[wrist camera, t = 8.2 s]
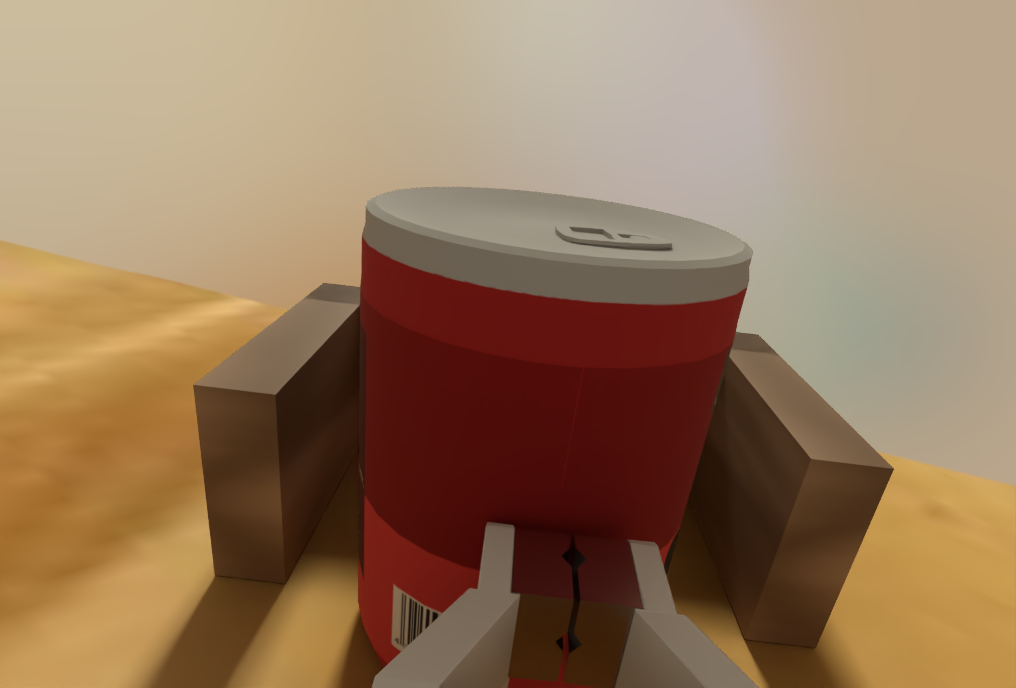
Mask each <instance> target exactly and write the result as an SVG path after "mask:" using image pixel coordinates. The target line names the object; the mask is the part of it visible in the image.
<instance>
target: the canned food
mask: <svg viewBox="0 0 1016 688" xmlns="http://www.w3.org/2000/svg"><path fill="white" fill-rule="evenodd" d="M752 254H753V250H752V249H751V248H750V247H749V246H748V245H747V244H746V243H745V242H743V241H742V240H741V239H739V238H737V237H736V236H734V235H732V234H730V233H729V232H726V231H724V230H721V229H719V228H716V227H714V226H711V225H708V224H704V223H701V222H698V221H695V220H692V219H688V218H684V217H680V216H676V215H672V214H668V213H664V212H659V211H655V210H650V209H646V208H640V207H635V206H630V205H625V204H619V203H613V202H607V201H601V200H594V199H588V198H581V197H573V196H566V195H558V194H549V193H541V192H530V191H519V190H508V189H492V188H472V187H425V188H411V189H402V190H395V191H392V192H387V193H384V194H381V195H378V196H376V197H374V198H372V199H370V200H369V201H367V205H366V223H365V226H364V230H363V234H362V276H361V286H360V400H359V561H358V603H359V608H360V613H361V618H362V623H363V626H364V628H365V631H366V633H367V635H368V637H369V640H370V642H371V644H372V646H373V648H374V650H375V652H376V655H377V657H378V659H379V661H380V663H381V665H382V667H383V668H384V667H385V666H387V665H388V664H389V663H390V662H391V661H392V660H393V659H394V658H395V657H396V656H397V655H398V654H399V653H400V652H402V651H403V650H404V649H405V648H406V647H407V646H408V645H409V644H410V643H411V642H412V641H413V640H414V639H415V638H417V637H418V636H419V635H420V634H421V633H422V632H423V631H424V630H425V629H426V628H427V627H428V626H429V625H430V624H432V623H433V622H434V621H435V620H436V619H437V618H438V617H439V616H440V615H441V614H442V613H443V612H444V611H445V610H447V609H448V608H449V607H450V606H451V605H452V604H453V603H454V602H455V601H456V600H457V599H458V598H459V597H460V596H462V595H463V594H464V593H465V592H466V591H467V590H468V589H469V588H472V589H478V582H479V574H480V567H481V559H482V552H483V544H484V537H485V529H486V525H487V522H493V523H501V524H508V525H513V526H514V528H515V525H517V526H524V527H531V528H538V529H544V530H551V531H558V532H565V533H568V534H569V537H570V540H571V537H572V534H579V535H588V536H596V537H605V538H613V539H622V540H627V539H628V540H638V541H648V542H655V543H656V544H657V546H658V548H659V551H660V555H661V558H662V562H663V565H664V569H665V572H666V575H667V572H668V568H669V565H670V561H671V558H672V554H673V551H674V547H675V544H676V540H677V537H678V533H679V530H680V526H681V523H682V519H683V516H684V512H685V509H686V505H687V502H688V498H689V495H690V491H691V488H692V484H693V481H694V477H695V474H696V470H697V467H698V463H699V460H700V456H701V453H702V449H703V446H704V442H705V439H706V435H707V432H708V428H709V425H710V421H711V418H712V414H713V411H714V407H715V404H716V400H717V397H718V393H719V390H720V386H721V383H722V379H723V376H724V372H725V369H726V366H727V362H728V359H729V355H730V352H731V348H732V345H733V341H734V337H735V333H736V328H737V322H738V319H739V315H740V311H741V308H742V304H743V300H744V297H745V294H746V290H747V286H748V282H749V265H750V262H751V258H752ZM568 564H569V558H568ZM563 638H564V635H563ZM502 688H595V687H588V686H582V685H576V684H569V683H564V682H563V663H562V662H561V666H560V671H559V676H558V680H557V682H554V681H544V680H533V679H523V678H512V677H508V679H507V681H506V683H505V684H504V686H503V687H502Z"/></svg>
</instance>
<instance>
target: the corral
mask: <svg viewBox="0 0 1016 688" xmlns="http://www.w3.org/2000/svg"><path fill="white" fill-rule="evenodd" d="M193 386H194V395H195V404H196V413H197V422H198V431H199V439H200V448H201V457H202V466H203V475H204V484H205V492H206V501H207V510H208V519H209V528H210V537H211V546H212V554H213V563H214V572H215V575H218V576H226V577H234V578H243V579H251V580H259V581H267V582H276V583H284V584H285V583H286V581H287V580H288V578H289V576H290V574H291V572H292V570H293V568H294V567H295V565H296V563H297V561H298V559H299V557H300V555H301V554H302V552H303V550H304V548H305V546H306V544H307V542H308V541H309V539H310V537H311V535H312V533H313V531H314V529H315V528H316V526H317V524H318V522H319V520H320V518H321V517H322V515H323V513H324V511H325V509H326V507H327V505H328V504H329V502H330V500H331V498H332V496H333V494H334V492H335V491H336V489H337V487H338V485H339V483H340V481H341V479H342V478H343V476H344V474H345V472H346V470H347V468H348V466H349V465H350V463H351V461H352V459H353V457H354V455H355V453H356V452H357V450H358V448H359V400H360V287H353V286H345V285H336V284H328V283H323V284H322V285H320V286H319V287H318V288H317V289H315V290H314V291H313V292H312V293H310V294H309V295H308V296H306V297H305V298H304V299H303V300H301V301H300V302H299V303H298V304H296V305H295V306H294V307H292V308H291V309H290V310H288V311H287V312H286V313H285V314H283V315H282V316H281V317H280V318H278V319H277V320H276V321H274V322H273V323H272V324H271V325H269V326H268V327H267V328H265V329H264V330H263V331H262V332H260V333H259V334H258V335H256V336H255V337H254V338H253V339H251V340H250V341H249V342H247V343H246V344H245V345H244V346H242V347H241V348H240V349H239V350H237V351H236V352H235V353H233V354H232V355H231V356H230V357H228V358H227V359H226V360H224V361H223V362H222V363H221V364H219V365H218V366H217V367H215V368H214V369H213V370H212V371H210V372H209V373H208V374H207V375H205V376H204V377H203V378H201V379H200V380H199V381H198V382H196V383H195V384H194V385H193ZM893 470H894V468H893V467H892V466H891V465H890V464H889V463H888V462H887V461H885V460H884V459H883V458H882V457H881V456H880V455H879V454H878V453H877V452H876V451H875V450H874V449H873V448H872V447H871V446H870V445H869V444H868V443H867V442H866V441H865V440H864V439H863V438H862V437H861V436H860V435H859V434H858V433H857V432H856V431H855V430H854V429H853V428H852V427H851V426H850V425H849V424H848V423H847V422H846V421H845V420H844V419H843V418H842V417H841V416H840V415H839V414H838V413H837V412H836V411H835V410H834V409H833V408H832V407H831V406H830V405H829V404H828V403H827V402H826V401H825V400H824V399H823V398H822V397H821V396H820V395H819V394H818V393H817V392H816V391H814V390H813V388H811V386H809V384H807V383H806V382H805V381H804V380H803V379H802V378H801V377H800V376H799V375H798V374H797V373H796V372H795V371H794V370H793V369H792V368H791V367H790V366H789V365H788V364H787V363H786V362H785V361H784V360H783V359H782V358H781V357H780V356H779V355H778V354H777V353H776V352H775V351H774V350H773V349H772V348H771V347H770V346H769V345H768V344H767V343H766V342H765V341H764V340H763V339H762V338H761V337H760V336H759V335H756V334H747V333H738V332H736V333H735V337H734V341H733V345H732V348H731V352H730V355H729V359H728V362H727V366H726V369H725V372H724V376H723V379H722V383H721V386H720V390H719V393H718V397H717V400H716V404H715V407H714V411H713V414H712V418H711V421H710V425H709V428H708V432H707V435H706V439H705V442H704V446H703V449H702V453H701V456H700V460H699V463H698V467H697V470H696V474H695V477H694V481H693V484H692V488H691V491H690V495H689V500H690V503H691V505H692V508H693V510H694V513H695V515H696V518H697V520H698V523H699V525H700V528H701V530H702V533H703V535H704V538H705V541H706V543H707V546H708V548H709V551H710V553H711V556H712V558H713V561H714V563H715V566H716V568H717V571H718V573H719V576H720V578H721V581H722V583H723V586H724V588H725V591H726V593H727V596H728V598H729V601H730V603H731V606H732V608H733V611H734V613H735V616H736V619H737V621H738V624H739V626H740V629H741V631H742V634H743V636H744V639H747V640H755V641H763V642H772V643H780V644H788V645H796V646H805V647H813V648H816V646H817V644H818V641H819V639H820V637H821V634H822V632H823V630H824V628H825V625H826V623H827V621H828V618H829V616H830V614H831V612H832V609H833V607H834V605H835V602H836V600H837V598H838V596H839V593H840V591H841V589H842V586H843V584H844V582H845V580H846V577H847V575H848V573H849V570H850V568H851V566H852V564H853V561H854V559H855V557H856V554H857V552H858V550H859V548H860V545H861V543H862V541H863V538H864V536H865V534H866V532H867V529H868V527H869V525H870V522H871V520H872V518H873V516H874V513H875V511H876V509H877V506H878V504H879V502H880V500H881V497H882V495H883V493H884V490H885V488H886V486H887V484H888V481H889V479H890V477H891V474H892V472H893Z"/></svg>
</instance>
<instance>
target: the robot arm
mask: <svg viewBox="0 0 1016 688" xmlns="http://www.w3.org/2000/svg"><path fill="white" fill-rule="evenodd" d="M568 558H569V564H568ZM563 635H564V638H563ZM561 662H562V663H563V682H564V683H569V684H576V685H582V686H588V687H595V688H759V687H758V686H757V685H756V684H755V683H754V682H753V681H752V680H751V679H750V678H749V677H748V676H747V675H746V674H745V673H744V672H743V671H742V670H741V669H740V668H739V667H738V666H737V665H736V664H735V663H734V662H733V661H732V660H731V659H730V658H729V657H728V656H727V655H726V654H725V653H724V652H723V651H722V650H721V649H719V648H718V647H717V646H716V645H715V644H714V643H713V642H712V641H711V640H710V639H709V638H708V637H707V636H706V635H705V634H704V633H703V632H702V631H701V630H700V629H699V628H698V627H697V626H696V625H695V624H694V623H693V622H692V621H691V620H690V619H689V618H688V617H687V616H686V615H681V614H677V611H676V608H675V604H674V601H673V597H672V594H671V590H670V587H669V583H668V579H667V576H666V572H665V569H664V565H663V562H662V558H661V555H660V551H659V548H658V546H657V544H656V543H655V542H648V541H638V540H628V539H627V540H622V539H613V538H605V537H596V536H588V535H579V534H572V537H571V540H570V537H569V534H568V533H565V532H558V531H551V530H544V529H538V528H531V527H524V526H517V525H515V528H514V526H513V525H508V524H501V523H493V522H487V525H486V529H485V537H484V544H483V552H482V559H481V567H480V574H479V582H478V589H472V588H469V589H468V590H467V591H466V592H465V593H464V594H463V595H462V596H460V597H459V598H458V599H457V600H456V601H455V602H454V603H453V604H452V605H451V606H450V607H449V608H448V609H447V610H445V611H444V612H443V613H442V614H441V615H440V616H439V617H438V618H437V619H436V620H435V621H434V622H433V623H432V624H430V625H429V626H428V627H427V628H426V629H425V630H424V631H423V632H422V633H421V634H420V635H419V636H418V637H417V638H415V639H414V640H413V641H412V642H411V643H410V644H409V645H408V646H407V647H406V648H405V649H404V650H403V651H402V652H400V653H399V654H398V655H397V656H396V657H395V658H394V659H393V660H392V661H391V662H390V663H389V664H388V665H387V666H385V667H384V668H383V669H382V670H381V671H380V672H379V673H378V674H377V675H376V676H375V678H374V681H373V684H372V688H502V687H503V686H504V684H505V683H506V681H507V679H508V677H512V678H523V679H533V680H544V681H554V682H557V680H558V676H559V671H560V666H561Z"/></svg>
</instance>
